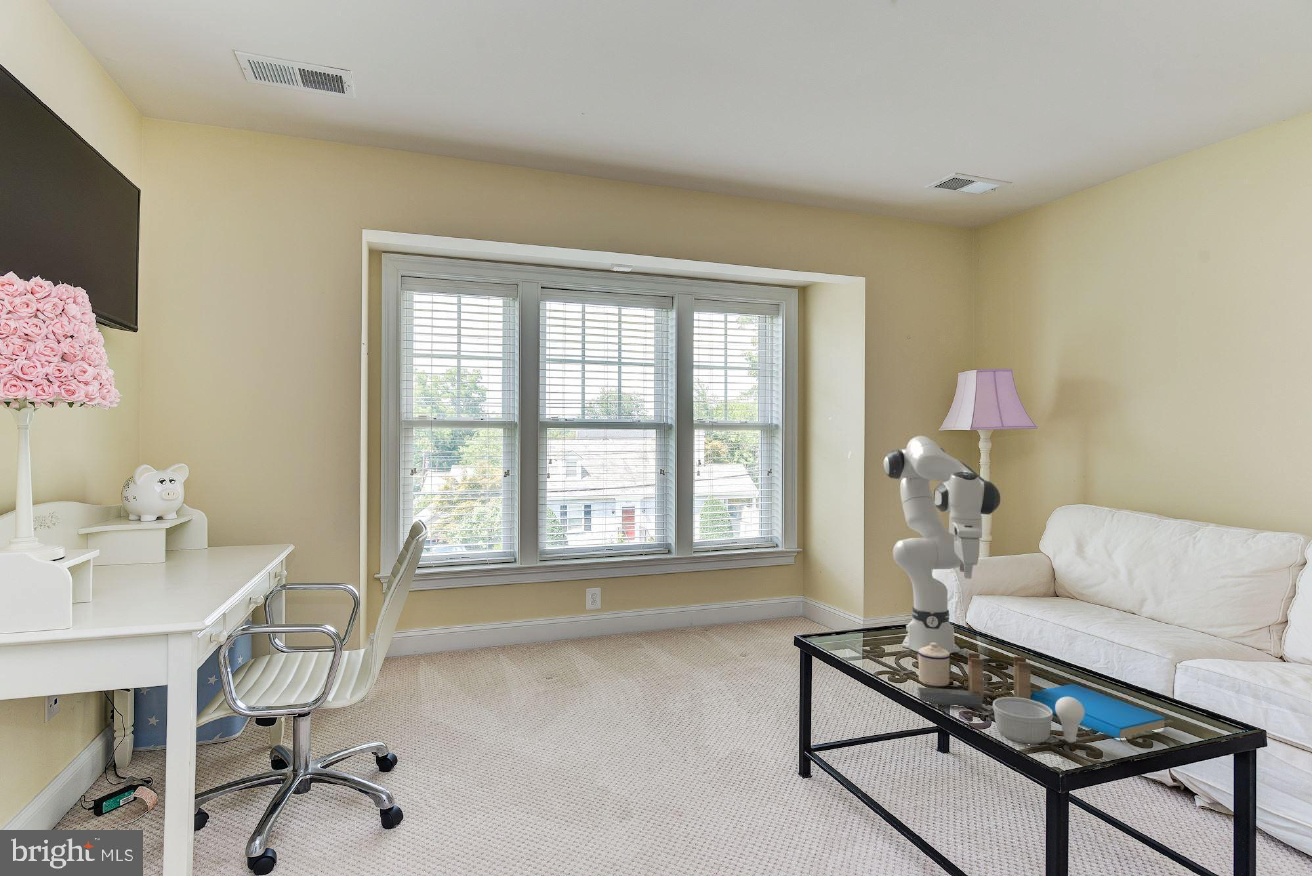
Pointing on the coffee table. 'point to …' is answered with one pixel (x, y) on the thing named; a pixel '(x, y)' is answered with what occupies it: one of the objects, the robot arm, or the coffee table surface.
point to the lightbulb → (1069, 716)
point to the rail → (950, 697)
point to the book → (1102, 711)
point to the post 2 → (1022, 678)
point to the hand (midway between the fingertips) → (965, 574)
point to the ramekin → (1022, 719)
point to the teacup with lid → (933, 665)
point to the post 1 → (975, 673)
